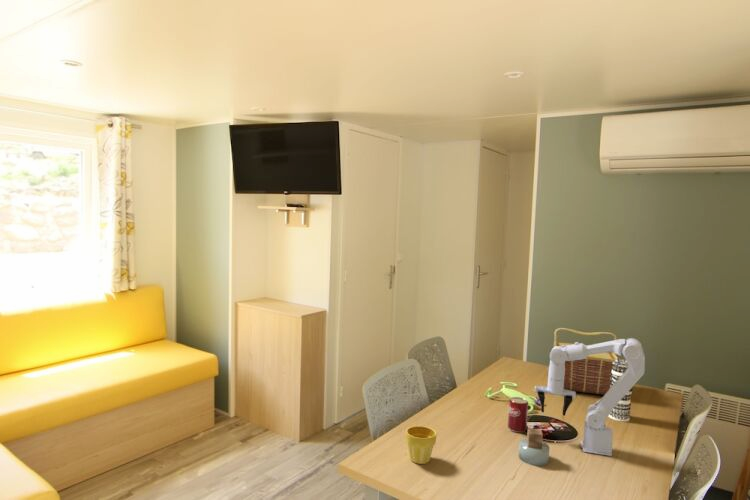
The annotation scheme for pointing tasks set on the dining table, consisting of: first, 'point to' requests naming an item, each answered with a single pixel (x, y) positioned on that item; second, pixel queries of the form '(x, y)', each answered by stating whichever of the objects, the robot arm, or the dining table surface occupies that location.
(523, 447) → the grey rounded dome
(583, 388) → the picnic basket
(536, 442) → the walnut block
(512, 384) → the figurine
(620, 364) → the decorative candle
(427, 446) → the plant pot
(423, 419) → the dining table surface
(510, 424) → the soda can
